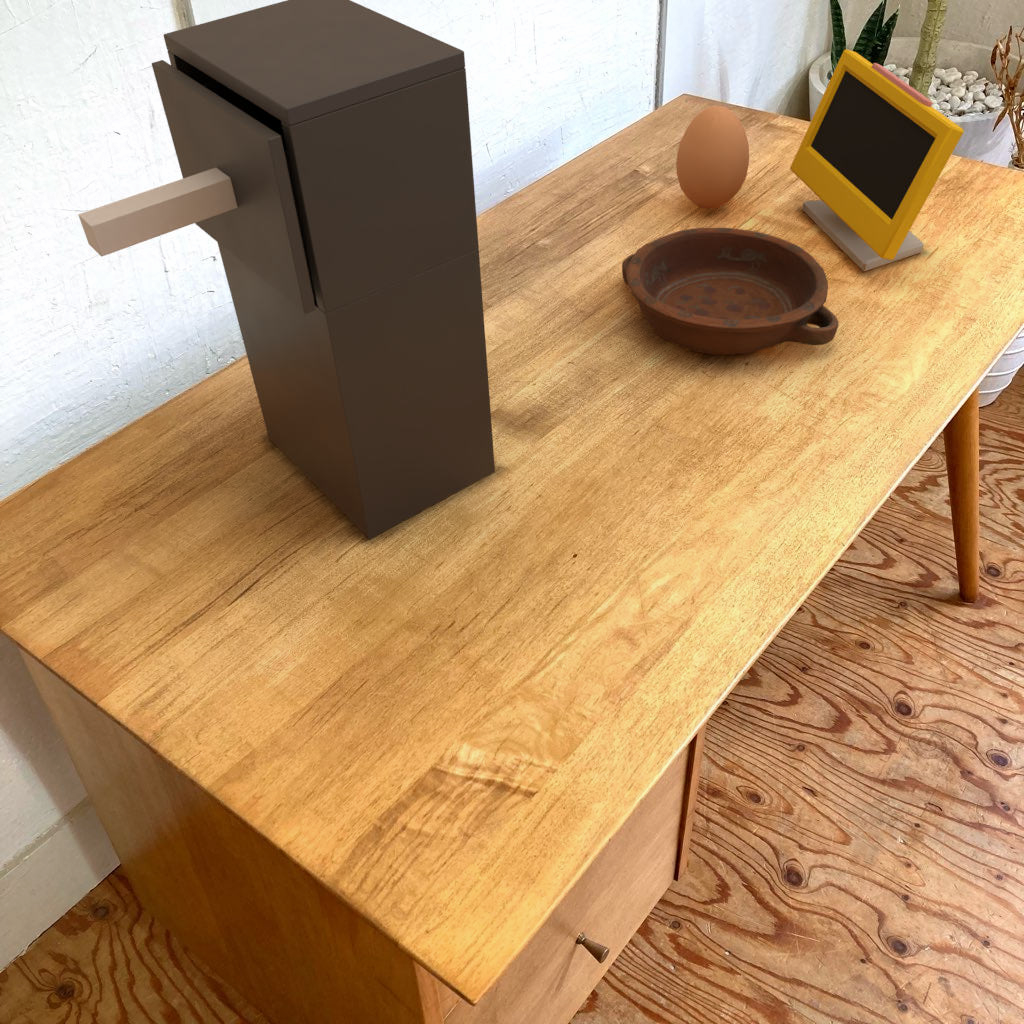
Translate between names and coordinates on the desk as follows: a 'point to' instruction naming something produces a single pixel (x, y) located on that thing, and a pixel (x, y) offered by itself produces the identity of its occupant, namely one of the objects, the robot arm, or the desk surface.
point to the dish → (730, 291)
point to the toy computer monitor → (872, 161)
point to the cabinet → (364, 254)
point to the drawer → (219, 187)
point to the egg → (713, 158)
